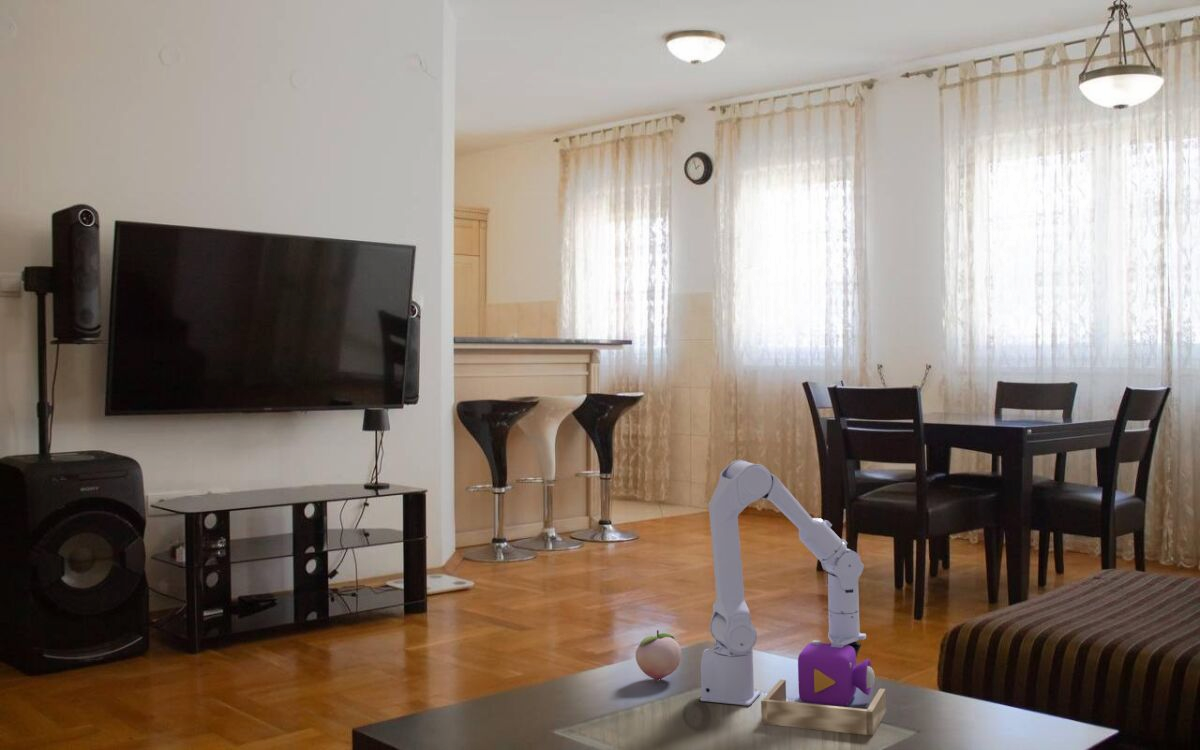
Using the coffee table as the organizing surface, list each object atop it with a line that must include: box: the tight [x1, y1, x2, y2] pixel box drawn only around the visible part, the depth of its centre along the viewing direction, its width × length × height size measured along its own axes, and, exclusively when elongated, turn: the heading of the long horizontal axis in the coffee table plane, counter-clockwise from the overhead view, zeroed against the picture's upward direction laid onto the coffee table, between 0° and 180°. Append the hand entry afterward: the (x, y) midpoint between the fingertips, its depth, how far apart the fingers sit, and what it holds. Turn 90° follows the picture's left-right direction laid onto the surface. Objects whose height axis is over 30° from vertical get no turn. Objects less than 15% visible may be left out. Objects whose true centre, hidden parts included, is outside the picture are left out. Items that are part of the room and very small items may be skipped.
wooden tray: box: [760, 679, 887, 736], centre depth 195 cm, size 19×13×4 cm
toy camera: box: [797, 639, 876, 707], centre depth 205 cm, size 11×14×10 cm
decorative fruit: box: [634, 629, 682, 681], centre depth 220 cm, size 9×8×10 cm
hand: (845, 681), depth 212 cm, fingers closed
